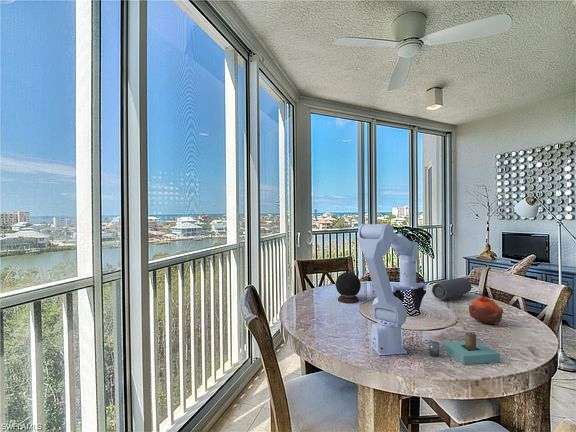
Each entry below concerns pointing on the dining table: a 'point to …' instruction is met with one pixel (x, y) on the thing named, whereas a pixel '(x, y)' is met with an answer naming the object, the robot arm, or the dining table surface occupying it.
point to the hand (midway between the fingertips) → (408, 309)
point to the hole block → (471, 353)
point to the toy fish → (485, 310)
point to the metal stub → (434, 349)
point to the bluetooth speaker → (451, 288)
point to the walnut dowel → (470, 341)
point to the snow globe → (348, 287)
